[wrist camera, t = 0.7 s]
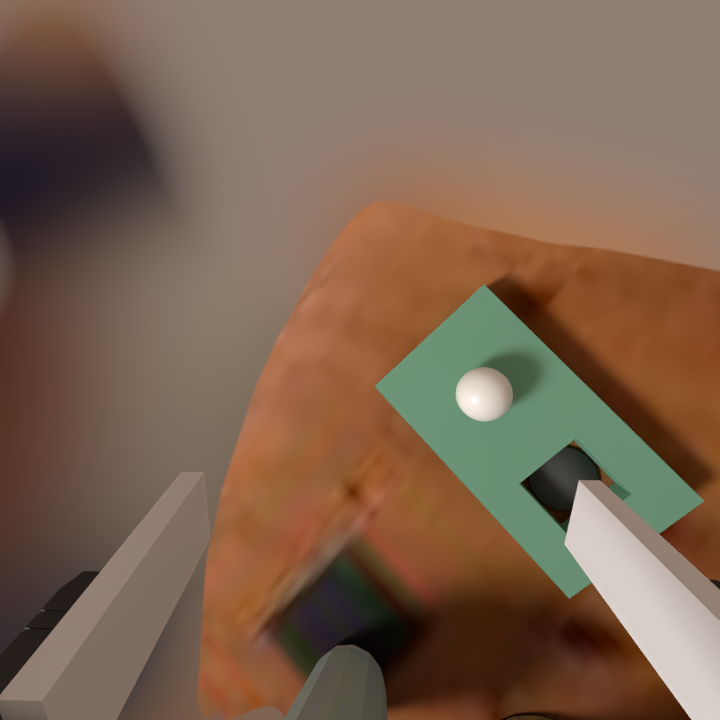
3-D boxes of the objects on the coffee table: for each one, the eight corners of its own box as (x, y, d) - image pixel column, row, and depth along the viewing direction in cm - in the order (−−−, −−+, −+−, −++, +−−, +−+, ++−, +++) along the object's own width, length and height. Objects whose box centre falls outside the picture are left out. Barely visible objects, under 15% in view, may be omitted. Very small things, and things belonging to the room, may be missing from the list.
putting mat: (680, 488, 28) (704, 501, 26) (558, 578, 30) (569, 598, 27) (479, 289, 31) (483, 284, 28) (378, 383, 33) (374, 386, 30)
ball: (517, 393, 28) (532, 399, 24) (478, 426, 29) (486, 438, 25) (481, 355, 28) (489, 356, 24) (443, 389, 29) (445, 395, 25)
